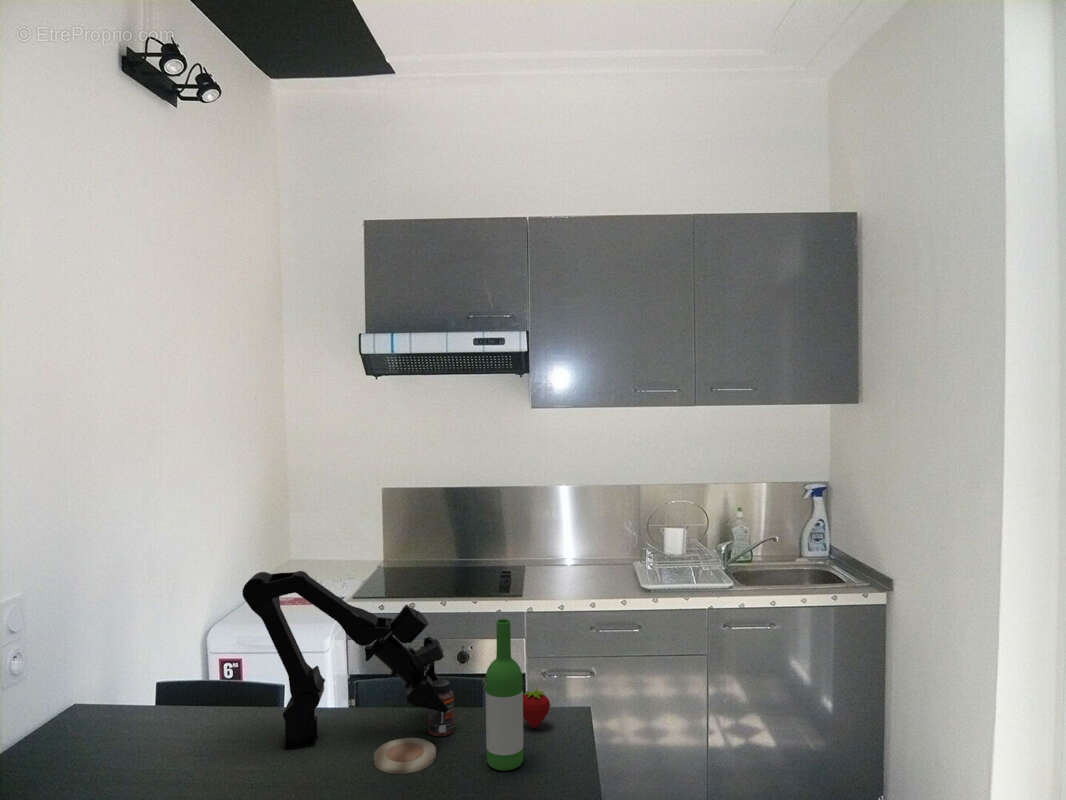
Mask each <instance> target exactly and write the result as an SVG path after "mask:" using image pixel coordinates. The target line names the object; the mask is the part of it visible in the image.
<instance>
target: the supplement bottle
mask: <svg viewBox="0 0 1066 800" xmlns="http://www.w3.org/2000/svg"><path fill="white" fill-rule="evenodd" d="M434 682H435V692H436V693H437V694H438V696H439V697H440V698H441V699H442V701H443V702H444V703H445V704H446V706H447V707H448V711H447V712H446V713H444V712H440V711H436V710H432V709H428V708H427V730H428V731H427V732H428V734H430V735H431V736H434V737H446V736H449V735H450V734H452V733H453V732H454V730H455V729H454V728H455V712H454V711H455V708H454V707H455V705H454V704H455V702H454V701H455V700H454V699H455V698H454V691H453V690H451V688H450V687H451V686H450V681H449V680H447V679H440V680H436V681H434Z"/></svg>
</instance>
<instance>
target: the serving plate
mask: <svg viewBox="0 0 1066 800" xmlns="http://www.w3.org/2000/svg"><path fill="white" fill-rule="evenodd" d="M436 758H437V749H436V746H435V745H434V743H432V742H430V741H429V740H426V739H423V738H417V737H404V738H398V739H394V740H390V741H388V742H385V743H383V744H381V746H379V747H378V748H377V749H376V750H375V752H374V753H373V764H374V766H375V767H376V768H377V769H378V770H380V771H381V772H384V773H388V774H393V775H394V774H395V775H405V774H410V773H417V772H419V771H421V770H424V769H427V768H428V767H429V766H430V765H432V764H433V763H434V762H435V760H436Z"/></svg>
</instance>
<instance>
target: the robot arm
mask: <svg viewBox="0 0 1066 800" xmlns="http://www.w3.org/2000/svg"><path fill="white" fill-rule="evenodd" d="M289 594H297V595H299V596H300V597H301V598H303V599H304V600H305V601H306V602H308V603H310V604H311V605H313V606H314V607H316V609H318V610H320V611H321V612H323V613H324V614H326V615H327V616H329V617H330V618H331V619H333V620H334V621H335V622H336V623H337V624H339V626H341V628H342V630H343V631H344V633H346V635H347V636H348V637H349V638H350V639H351V640H352V641H353V642H354V643H355V644H356V645H358V646H361V647H364V652H365V658H364V660H365V662H369V661H370V660H371V659H372V657H375V658H377V659H378V660H379V661H380V662H381V663H383V664H384V665H385V666H386V667H387V668H388V669H389V670H391V672H390V675H392V676H393V677H396V676H397V677H398V678H399V679H400V680H402V682H403V683H404V684H403V686H404V687H405V688H406V689H407V690H406V691H407V692H406V703H407V704H408V705H409V706H410V707H412V709H414V708H422V709H423V708H424V709H427V710H428V709H432V710H436V711H440V712H444V713H446V712H447V711H448V707H447V706H446V704H445V703H444V702H443V701H442V699H441V698H440V697H439V696H438V694H437V693H436V692H435V682H434V681H436V680H441V679H440V678H439V677H438V674H437V673H436V671H435V670H436V668H435V666H436V665H435V662H437V661H441V660H442V659H443V658H444V650H443V649H442V648H443V647H442V646H441V644H440V641H438V639H437V638H435V639H433V638H432V636H427V637H426V638H423V646H420V648H418V649H417V650H415V649H414V648H413V647H408V648H407V646H406V645H404V644H411V643H413V642H414V640H416V639H417V637H419V635H420V634H422V633H423V631H424V630H425V629H426V628H427V627H428V626H429V622H428V620H427V619H426V617H425V616H424V615H423V614H422V613H421V612H420V611H419V610H416V609H415V608H413V607H411V606H409V604H405V605H404V606H403V607H402V608H401V610H400V612H399V613H398V614H397V615H396V616H395V617H394V618H391V617H380V616H377V615H375V614H374V613H372V612H369V611H368V610H366V609H363V608H361V607H357V606H354V605H352V604H350V603H347V602H346V601H345V600H343V599H342V598H340V597H339V596H337V595H336V594H335V593H333V592H332V591H331V590H330V589H328V588H326V586H323V585H322V584H321V583H319V582H318V581H317V580H315V579H314V578H312V577H311V576H310V575H309V574H308V573H307V572H306V571H304V570H298V571H294V572H278V573H270V572H266V571H260V572H257V573H256V574H254V575H253V576H252V577H251V578H250V579H249V580H248V581H247V582H246V583H245V584H244V585H243V588H242V598H243V599H244V600H245V602H246V604H247V605H248V606H249V608H250V609H251V611H253V612H254V614H256V615H257V616H258V617H259V618H260V619H261V620H262V622H263V624H264V627H265V628H266V631H267V633H268V635H269V638H270V639H271V642H272V643H273V647H274V649H275V650H276V653H277V654H278V657H279V659H280V661H281V662H282V663H281V664H282V665H283V667H284V670H285V672H286V674H287V676H288V683H289V692H290V693H289V694H290V698H289V701H288V702H287V704H286V706H285V709H284V710H283V713H282V717H283V719H284V736H285V737H284V739H285V740H284V745H283V746H284V750H291V749H297V748H306V747H312V746H313V747H314V746H315V745H316V740H317V739H318V738H319V735H318V734H319V731H318V730H319V724H318V723H319V722H318V721H319V719H318V715H315V714H316V709H317V708H318V706H319V704H320V701H321V699H322V696H323V694H324V690H325V683H326V679H325V678H324V677H323V675H322V674H321V670H320V667H319V666H318V665H316V666H315V667H311V666H310V665H309V664H308V663H307V662H306V659H305V658H304V656H303V653H302V651H301V648H300V646H299V645H298V642H297V640H296V638H295V636H294V634H293V631H292V630H291V627H290V625H289V623H288V621H287V619H286V616H285V614H284V612H283V610H282V608H281V601H280V597H282V596H286V595H289Z"/></svg>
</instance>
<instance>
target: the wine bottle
mask: <svg viewBox="0 0 1066 800" xmlns="http://www.w3.org/2000/svg"><path fill="white" fill-rule="evenodd" d="M495 626H496V657H495V659H494V660H492V662H491V663H490V664H489V666H488V667H487V670H486V672H485V728H486V729H485V730H486V731H485V733H486V734H485V737H486V739H485V740H486V741H485V742H486V744H485V746H486V762H487V764H488V766H489V767H491V768H492V769H495V770H497V771H503V772H504V771H512V770H514V769H517V768H518V767H520V766H521V765H522V763H523V760H524V718H523V695H524V694H523V693H524V691H523V690H524V689H523V672H522V670H521V669H522V668H521V667H520V665H519V664H518V662H517V661H516V660H514V659H513V658H512V648H511V645H512V644H511V643H512V640H511V639H512V638H511V637H512V636H511V633H512V632H511V620H510V619H508V618H499V619H497V620H496V625H495Z"/></svg>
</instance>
